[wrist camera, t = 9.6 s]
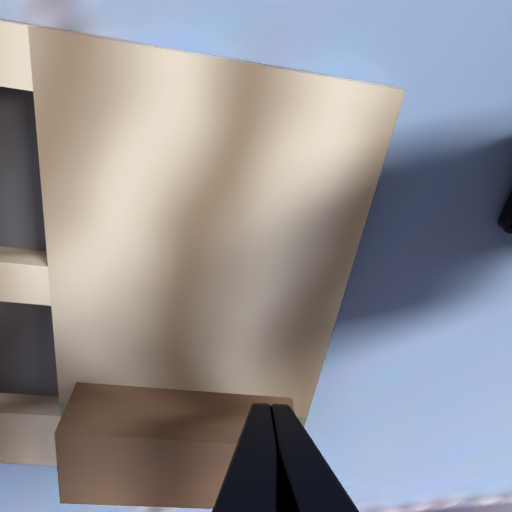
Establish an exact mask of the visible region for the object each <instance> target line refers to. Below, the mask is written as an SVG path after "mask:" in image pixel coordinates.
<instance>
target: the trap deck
mask: <svg viewBox="0 0 512 512" xmlns="http://www.w3.org/2000/svg"><path fill="white" fill-rule="evenodd" d="M405 91H406V90H403V89H400V88H396V87H393V86H389V85H383V84H377V83H371V82H365V81H360V80H354V79H348V78H342V77H336V76H330V75H324V74H319V73H313V72H307V71H301V70H295V69H289V68H283V67H278V66H272V65H266V64H260V63H254V62H248V61H242V60H237V59H231V58H225V57H219V56H213V55H207V54H202V53H196V52H190V51H184V50H178V49H172V48H166V47H161V46H155V45H149V44H143V43H137V42H131V41H125V40H120V39H114V38H108V37H102V36H96V35H90V34H84V33H79V32H73V31H67V30H61V29H55V28H49V27H43V26H38V25H32V24H26V23H20V22H14V21H8V20H3V19H0V463H8V464H31V465H55V466H57V459H56V447H55V435H54V433H55V431H56V428H57V426H58V424H59V421H60V419H61V417H62V414H63V412H64V410H65V408H66V405H67V403H68V401H69V398H70V396H71V394H72V391H73V389H74V387H75V385H76V382H81V383H95V384H109V385H122V386H136V387H149V388H163V389H177V390H190V391H204V392H218V393H231V394H245V395H259V396H272V397H286V398H292V400H293V405H294V411H295V415H296V416H297V418H298V419H299V421H300V422H301V424H302V425H303V427H304V425H305V422H306V418H307V415H308V412H309V408H310V405H311V402H312V399H313V395H314V392H315V389H316V385H317V382H318V379H319V375H320V372H321V369H322V365H323V362H324V359H325V356H326V352H327V349H328V346H329V342H330V339H331V336H332V332H333V329H334V326H335V322H336V319H337V316H338V313H339V309H340V306H341V303H342V299H343V296H344V293H345V289H346V286H347V283H348V279H349V276H350V273H351V270H352V266H353V263H354V260H355V256H356V253H357V250H358V246H359V243H360V240H361V236H362V233H363V230H364V227H365V223H366V220H367V217H368V213H369V210H370V207H371V203H372V200H373V197H374V193H375V190H376V187H377V183H378V180H379V177H380V174H381V170H382V167H383V164H384V160H385V157H386V154H387V150H388V147H389V144H390V140H391V137H392V134H393V131H394V127H395V124H396V121H397V117H398V114H399V111H400V107H401V104H402V101H403V97H404V94H405Z"/></svg>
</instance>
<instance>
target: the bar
mask: <svg viewBox="0 0 512 512" xmlns="http://www.w3.org/2000/svg"><path fill="white" fill-rule="evenodd" d="M254 402H257V403H268V404H269V405H271V404H274V403H275V404H287V405H289V406H290V407H291V409H292V410H293V412H294V413H295V411H294V405H293V400H292V398H286V397H272V396H259V395H245V394H231V393H218V392H204V391H190V390H177V389H163V388H149V387H136V386H122V385H109V384H95V383H81V382H76V385H75V387H74V389H73V391H72V394H71V396H70V398H69V401H68V403H67V405H66V408H65V410H64V412H63V414H62V417H61V419H60V421H59V424H58V426H57V428H56V431H55V433H54V435H55V447H56V459H57V471H58V483H59V495H60V503H67V504H95V505H122V506H150V507H178V508H205V509H213V507H214V505H215V502H216V499H217V496H218V494H219V491H220V488H221V486H222V483H223V480H224V477H225V475H226V472H227V469H228V466H229V464H230V461H231V458H232V456H233V453H234V450H235V447H236V445H237V442H238V439H239V436H240V434H241V431H242V428H243V426H244V423H245V420H246V417H247V415H248V412H249V409H250V406H251V404H252V403H254Z"/></svg>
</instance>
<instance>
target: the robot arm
mask: <svg viewBox="0 0 512 512" xmlns="http://www.w3.org/2000/svg"><path fill="white" fill-rule="evenodd" d="M511 220H512V192H511V194H510V196H509V198H508V200H507V202H506V205H505V207H504V209H503V211H502V213H501V216H500V218H499V221H498V225H499V227H500V228H501V229H502V230H504V231H505V232H507V233H510V234H512V223H511V224H510V225H509V222H510V221H511ZM212 512H359V511H358V509H357V508H356V506H355V504H354V503H353V501H352V500H351V498H350V497H349V495H348V494H347V492H346V491H345V489H344V488H343V486H342V485H341V483H340V482H339V480H338V479H337V477H336V476H335V474H334V472H333V471H332V469H331V468H330V466H329V465H328V463H327V462H326V460H325V459H324V457H323V456H322V454H321V453H320V451H319V450H318V448H317V447H316V445H315V444H314V442H313V441H312V439H311V437H310V436H309V434H308V433H307V431H306V430H305V428H304V427H303V425H302V424H301V422H300V421H299V419H298V418H297V416H296V415H295V413H294V412H293V410H292V409H291V407H290V406H289V405H287V404H275V403H274V404H271V405H269V404H268V403H257V402H254V403H252V404H251V406H250V409H249V412H248V415H247V417H246V420H245V423H244V426H243V428H242V431H241V434H240V436H239V439H238V442H237V445H236V447H235V450H234V453H233V456H232V458H231V461H230V464H229V466H228V469H227V472H226V475H225V477H224V480H223V483H222V486H221V488H220V491H219V494H218V496H217V499H216V502H215V505H214V507H213V510H212Z"/></svg>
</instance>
